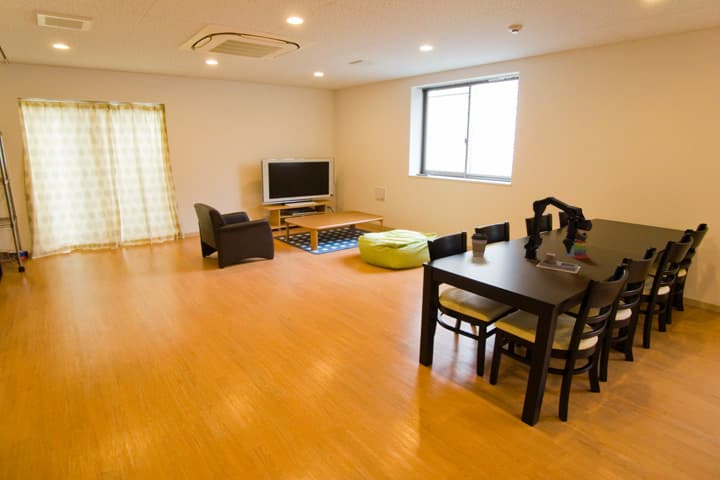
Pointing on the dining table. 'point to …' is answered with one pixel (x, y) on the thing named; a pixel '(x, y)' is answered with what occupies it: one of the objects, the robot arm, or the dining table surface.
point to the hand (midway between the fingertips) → (569, 252)
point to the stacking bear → (580, 249)
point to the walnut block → (550, 258)
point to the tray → (560, 266)
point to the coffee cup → (479, 244)
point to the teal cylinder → (570, 251)
